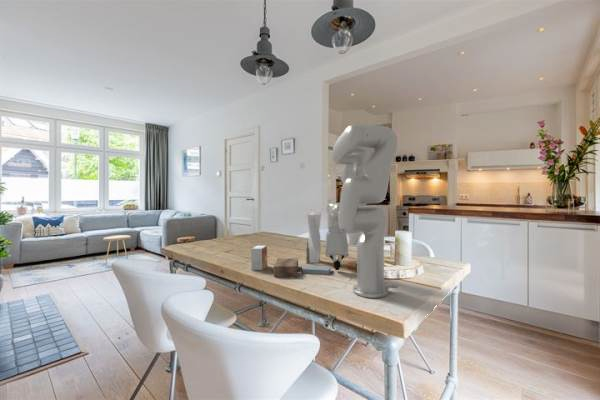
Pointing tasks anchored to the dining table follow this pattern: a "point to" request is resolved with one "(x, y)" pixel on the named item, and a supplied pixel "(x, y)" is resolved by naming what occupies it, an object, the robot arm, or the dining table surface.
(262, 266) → the small box
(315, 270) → the tile
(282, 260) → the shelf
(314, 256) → the skyscraper
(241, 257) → the dining table surface
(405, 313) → the dining table surface
